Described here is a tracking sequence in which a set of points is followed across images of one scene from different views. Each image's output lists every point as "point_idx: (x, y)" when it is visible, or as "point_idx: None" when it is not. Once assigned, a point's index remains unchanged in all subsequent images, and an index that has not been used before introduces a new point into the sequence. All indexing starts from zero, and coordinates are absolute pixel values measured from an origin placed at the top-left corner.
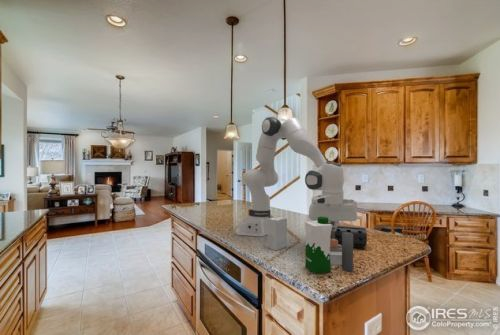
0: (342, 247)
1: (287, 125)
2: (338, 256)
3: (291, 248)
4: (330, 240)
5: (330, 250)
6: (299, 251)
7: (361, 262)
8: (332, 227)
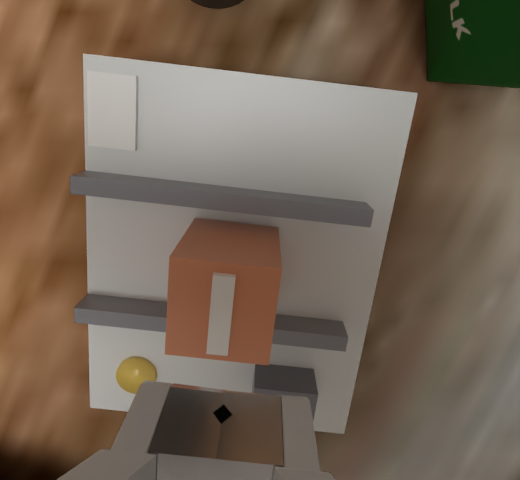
0: None
1: None
2: (251, 73)
3: (506, 471)
4: (278, 292)
5: (299, 196)
6: (469, 407)
7: (3, 132)
8: (236, 450)
